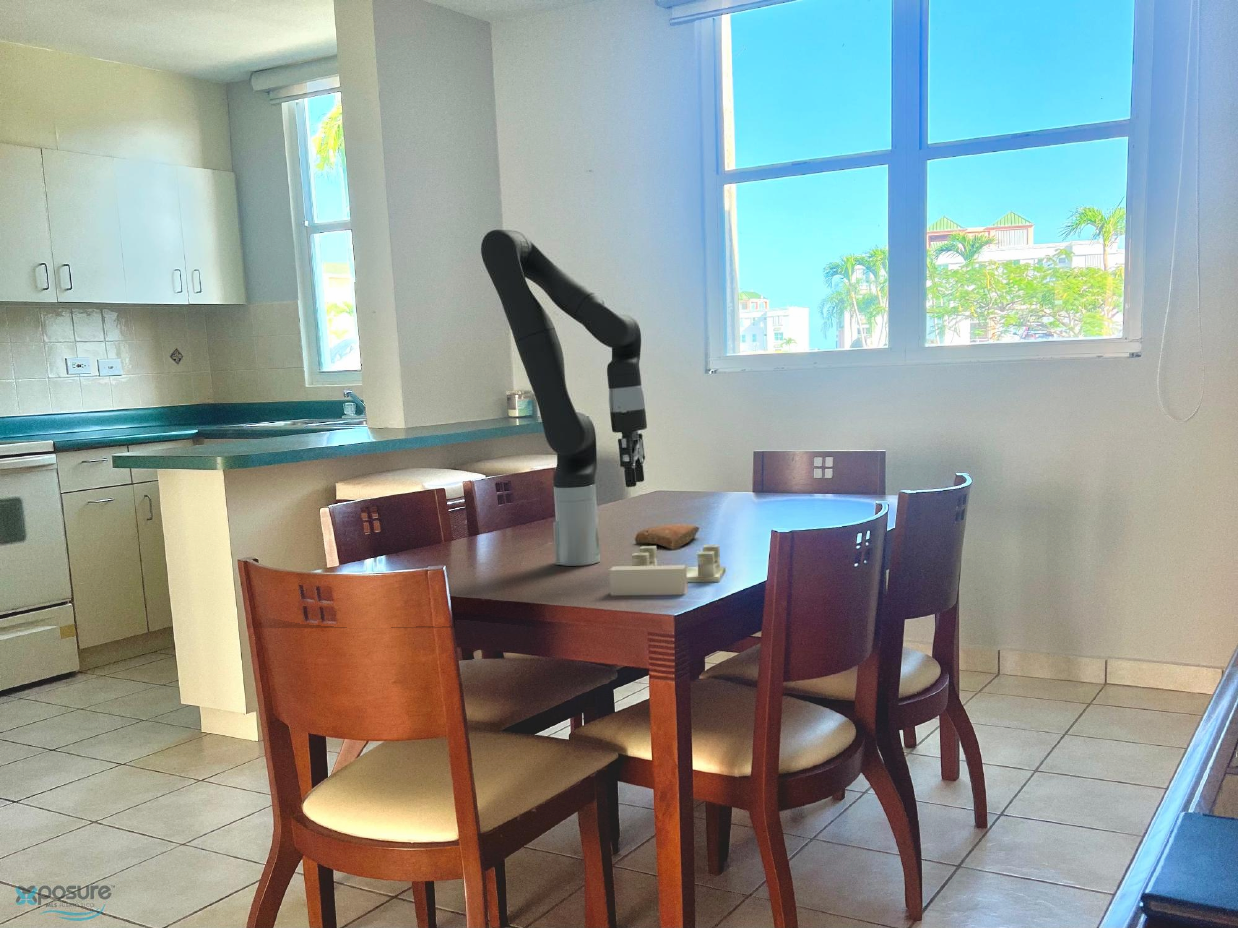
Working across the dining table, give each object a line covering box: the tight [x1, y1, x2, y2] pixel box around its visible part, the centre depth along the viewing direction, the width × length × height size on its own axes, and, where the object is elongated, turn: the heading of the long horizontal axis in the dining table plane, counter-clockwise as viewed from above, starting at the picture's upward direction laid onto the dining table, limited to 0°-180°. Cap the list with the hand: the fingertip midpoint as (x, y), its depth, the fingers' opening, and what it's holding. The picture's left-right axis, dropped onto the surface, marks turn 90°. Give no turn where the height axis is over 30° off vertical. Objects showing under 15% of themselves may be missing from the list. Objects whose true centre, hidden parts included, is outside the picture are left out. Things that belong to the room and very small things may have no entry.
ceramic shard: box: [634, 523, 700, 551], centre depth 246 cm, size 15×6×15 cm
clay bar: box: [608, 564, 688, 596], centre depth 192 cm, size 14×4×5 cm, turn 78°
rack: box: [631, 544, 726, 583], centre depth 205 cm, size 18×10×6 cm, turn 77°
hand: (635, 484), depth 219 cm, fingers open, 8 cm apart
